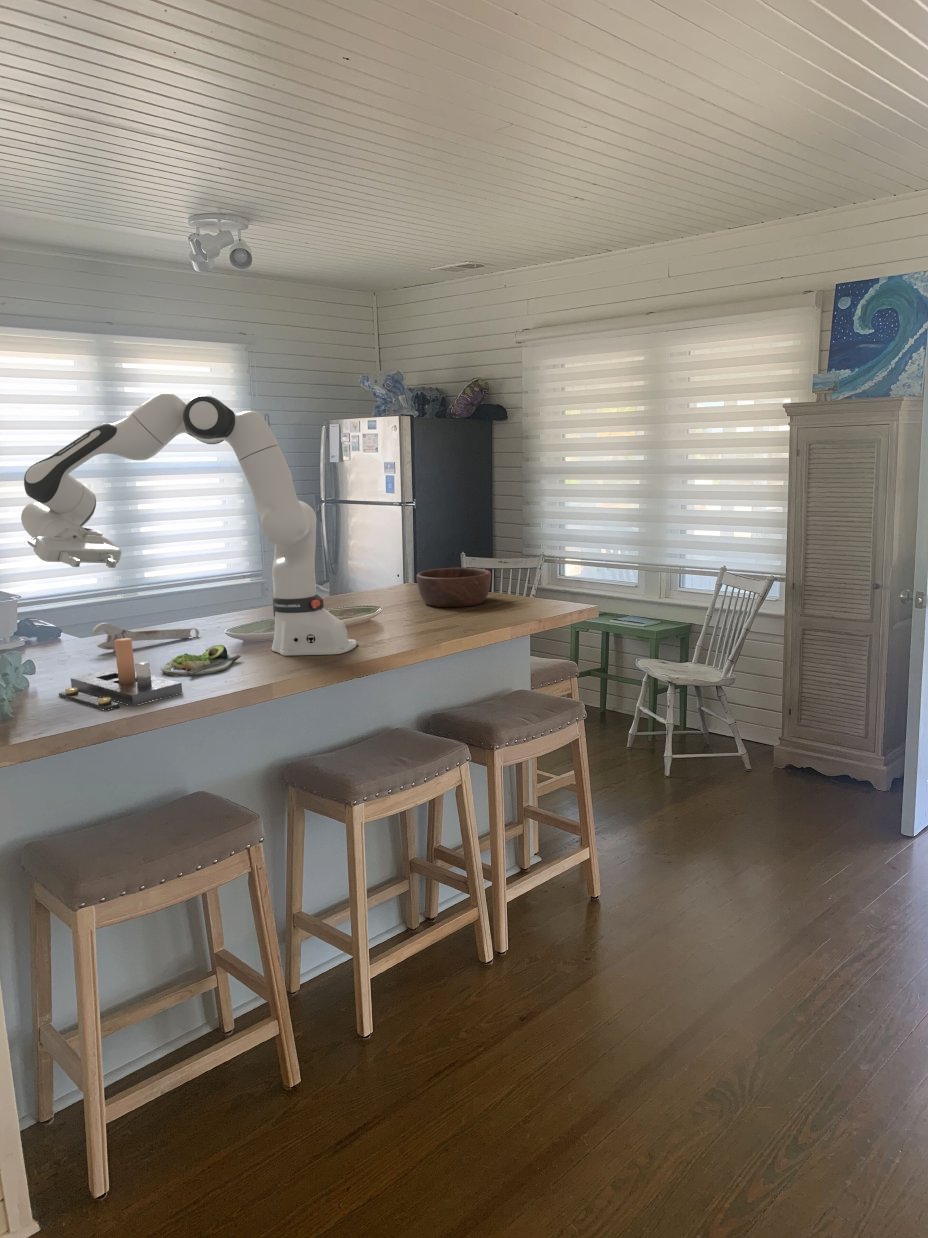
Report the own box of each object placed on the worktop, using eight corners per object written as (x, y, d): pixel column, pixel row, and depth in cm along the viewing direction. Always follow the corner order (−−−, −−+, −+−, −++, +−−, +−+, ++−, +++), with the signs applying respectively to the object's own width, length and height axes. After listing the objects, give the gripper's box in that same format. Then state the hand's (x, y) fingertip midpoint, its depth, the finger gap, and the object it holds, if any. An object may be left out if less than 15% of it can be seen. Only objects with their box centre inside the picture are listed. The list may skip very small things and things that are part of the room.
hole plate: (50, 693, 203) (46, 661, 201) (119, 677, 216) (116, 646, 214) (111, 712, 186) (107, 677, 185) (182, 693, 199) (179, 660, 198)
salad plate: (224, 679, 212) (223, 660, 211) (149, 681, 212) (147, 662, 212) (245, 659, 231) (243, 642, 230) (176, 661, 231) (174, 644, 231)
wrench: (199, 647, 260) (93, 653, 240) (196, 646, 261) (91, 652, 241) (199, 619, 259) (93, 623, 239) (196, 618, 260) (91, 623, 240)
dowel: (140, 689, 204) (134, 638, 201) (131, 694, 200) (125, 641, 198) (125, 689, 204) (120, 637, 202) (116, 693, 201) (110, 641, 199)
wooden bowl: (411, 599, 311) (410, 570, 309) (481, 594, 317) (480, 565, 315) (425, 612, 288) (424, 580, 286) (500, 606, 293) (500, 575, 291)
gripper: (26, 526, 210) (57, 550, 203) (105, 531, 227) (136, 553, 220) (21, 551, 212) (50, 576, 205) (99, 553, 229) (129, 577, 222)
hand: (95, 564), depth 213 cm, fingers open, 8 cm apart
